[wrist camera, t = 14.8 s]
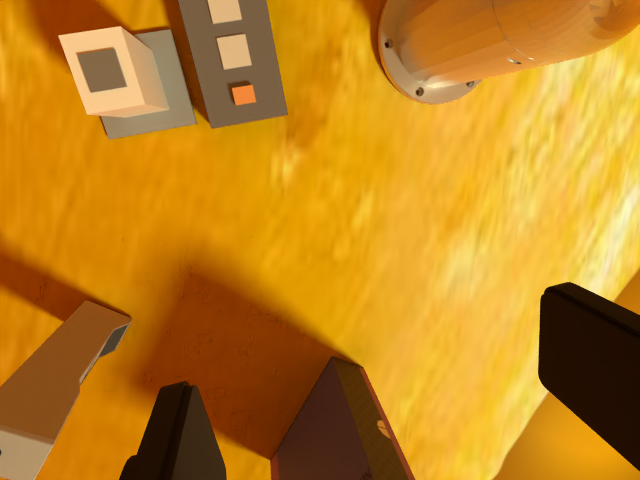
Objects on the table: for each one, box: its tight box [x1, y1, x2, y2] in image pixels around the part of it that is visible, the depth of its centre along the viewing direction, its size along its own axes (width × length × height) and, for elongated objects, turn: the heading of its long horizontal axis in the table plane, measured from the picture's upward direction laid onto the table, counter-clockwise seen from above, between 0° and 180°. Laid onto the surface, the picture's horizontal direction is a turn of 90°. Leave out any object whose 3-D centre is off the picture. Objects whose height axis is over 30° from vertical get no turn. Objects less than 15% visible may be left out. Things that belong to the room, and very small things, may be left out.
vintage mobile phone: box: [0, 300, 133, 480], centre depth 27 cm, size 4×5×25 cm
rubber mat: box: [101, 29, 197, 139], centre depth 32 cm, size 8×8×1 cm
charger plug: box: [58, 26, 169, 118], centre depth 28 cm, size 4×5×8 cm
